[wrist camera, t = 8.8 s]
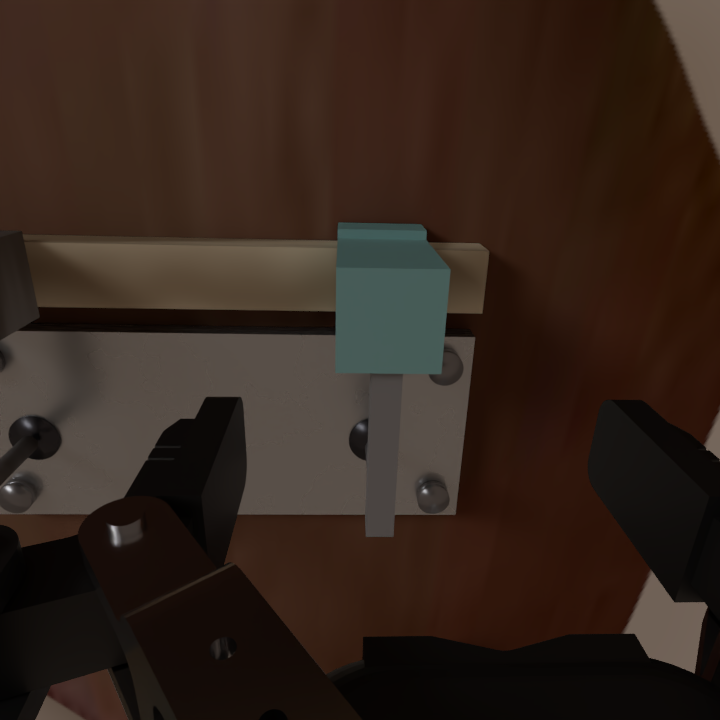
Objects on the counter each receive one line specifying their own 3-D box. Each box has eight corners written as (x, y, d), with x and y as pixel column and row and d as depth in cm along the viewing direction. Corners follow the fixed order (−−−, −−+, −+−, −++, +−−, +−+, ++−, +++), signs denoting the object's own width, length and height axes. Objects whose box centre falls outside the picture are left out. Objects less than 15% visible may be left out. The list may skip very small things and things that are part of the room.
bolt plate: (-37, 322, 28) (-62, 334, 26) (470, 329, 29) (478, 341, 27) (11, 500, 32) (-9, 522, 30) (451, 501, 33) (457, 522, 31)
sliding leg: (338, 222, 26) (336, 255, 19) (421, 224, 26) (451, 257, 19) (336, 445, 31) (334, 543, 23) (406, 446, 31) (426, 543, 23)
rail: (-106, 221, 26) (-289, 255, 18) (480, 233, 27) (533, 269, 19) (-42, 441, 30) (-167, 540, 23) (457, 444, 31) (493, 539, 24)
